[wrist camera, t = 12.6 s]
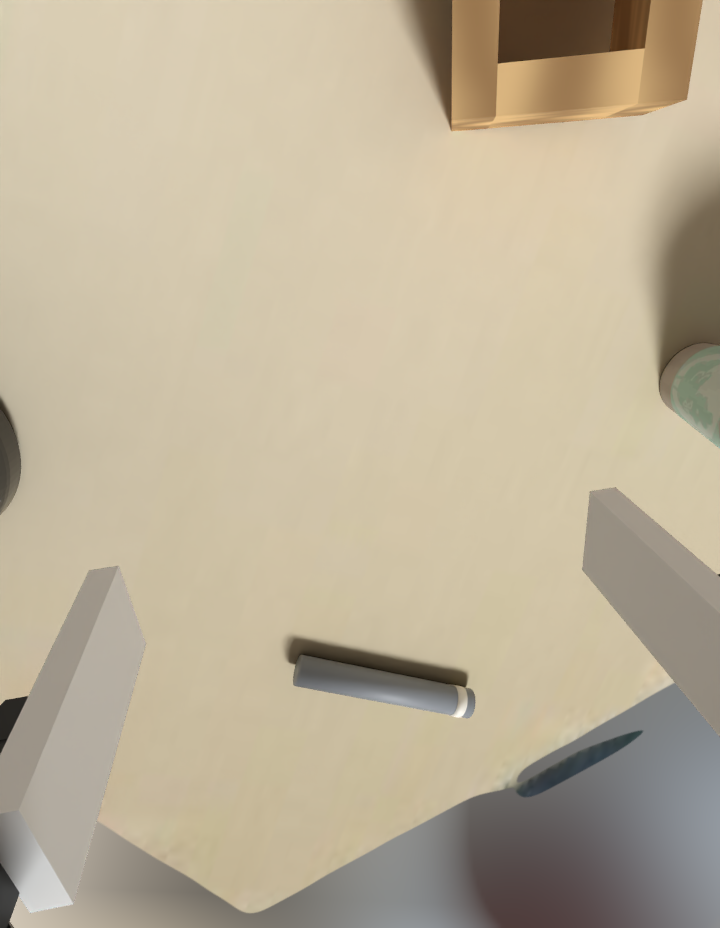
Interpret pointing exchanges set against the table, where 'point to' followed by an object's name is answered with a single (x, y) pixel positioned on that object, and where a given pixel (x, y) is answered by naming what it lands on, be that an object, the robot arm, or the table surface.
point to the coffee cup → (695, 388)
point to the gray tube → (383, 686)
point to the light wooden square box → (572, 68)
